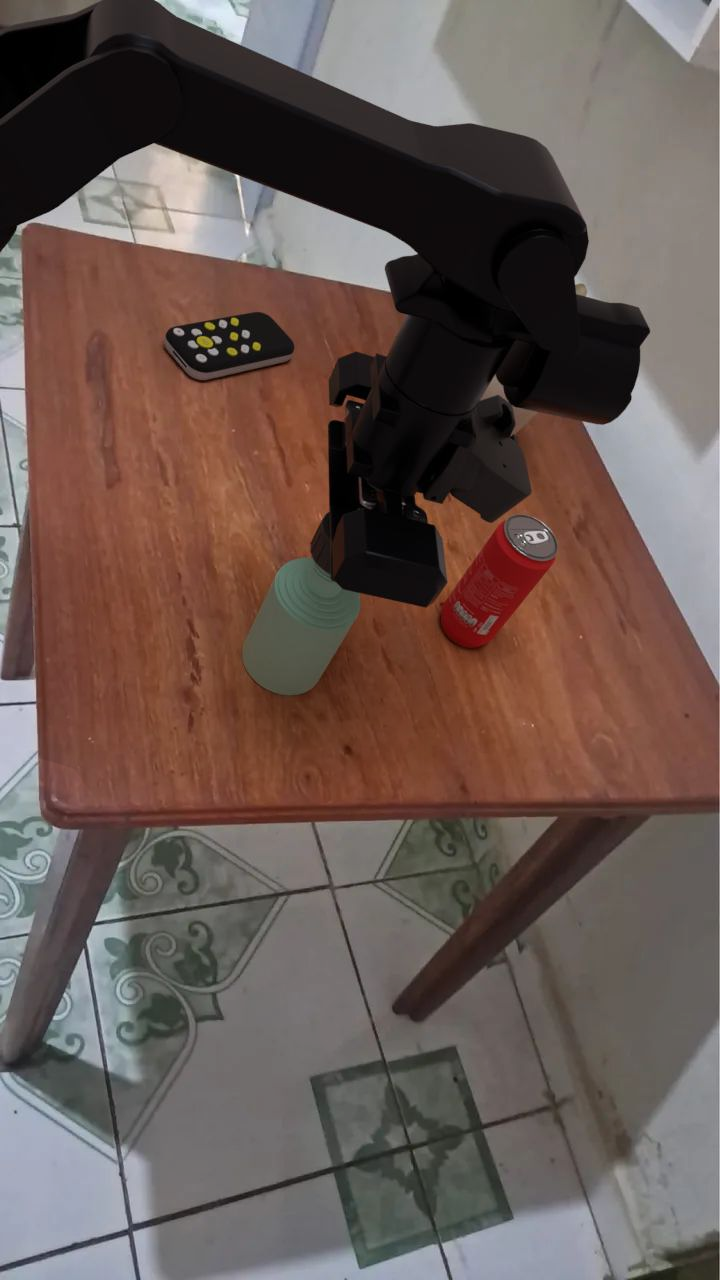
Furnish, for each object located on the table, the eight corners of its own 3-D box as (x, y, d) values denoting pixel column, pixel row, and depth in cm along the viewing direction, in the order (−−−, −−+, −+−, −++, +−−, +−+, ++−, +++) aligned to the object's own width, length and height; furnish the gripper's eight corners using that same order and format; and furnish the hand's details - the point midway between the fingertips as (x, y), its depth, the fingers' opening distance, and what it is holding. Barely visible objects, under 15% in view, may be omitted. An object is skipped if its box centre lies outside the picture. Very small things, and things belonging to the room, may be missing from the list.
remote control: (296, 362, 96) (302, 346, 94) (193, 385, 88) (198, 368, 86) (260, 322, 98) (266, 306, 96) (156, 341, 90) (160, 324, 88)
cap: (310, 571, 63) (323, 546, 61) (308, 528, 65) (320, 502, 63) (365, 582, 64) (379, 558, 62) (361, 539, 66) (375, 514, 64)
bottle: (229, 671, 71) (275, 570, 62) (259, 613, 75) (307, 511, 66) (306, 709, 71) (363, 615, 62) (331, 650, 75) (389, 554, 67)
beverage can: (426, 608, 82) (489, 514, 73) (472, 599, 85) (539, 508, 76) (454, 656, 80) (523, 566, 71) (500, 646, 83) (573, 558, 74)
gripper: (586, 534, 50) (457, 693, 61) (535, 322, 61) (434, 490, 73) (390, 483, 46) (292, 661, 58) (373, 268, 58) (294, 453, 69)
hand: (337, 558), depth 65 cm, fingers closed on cap, 4 cm apart
